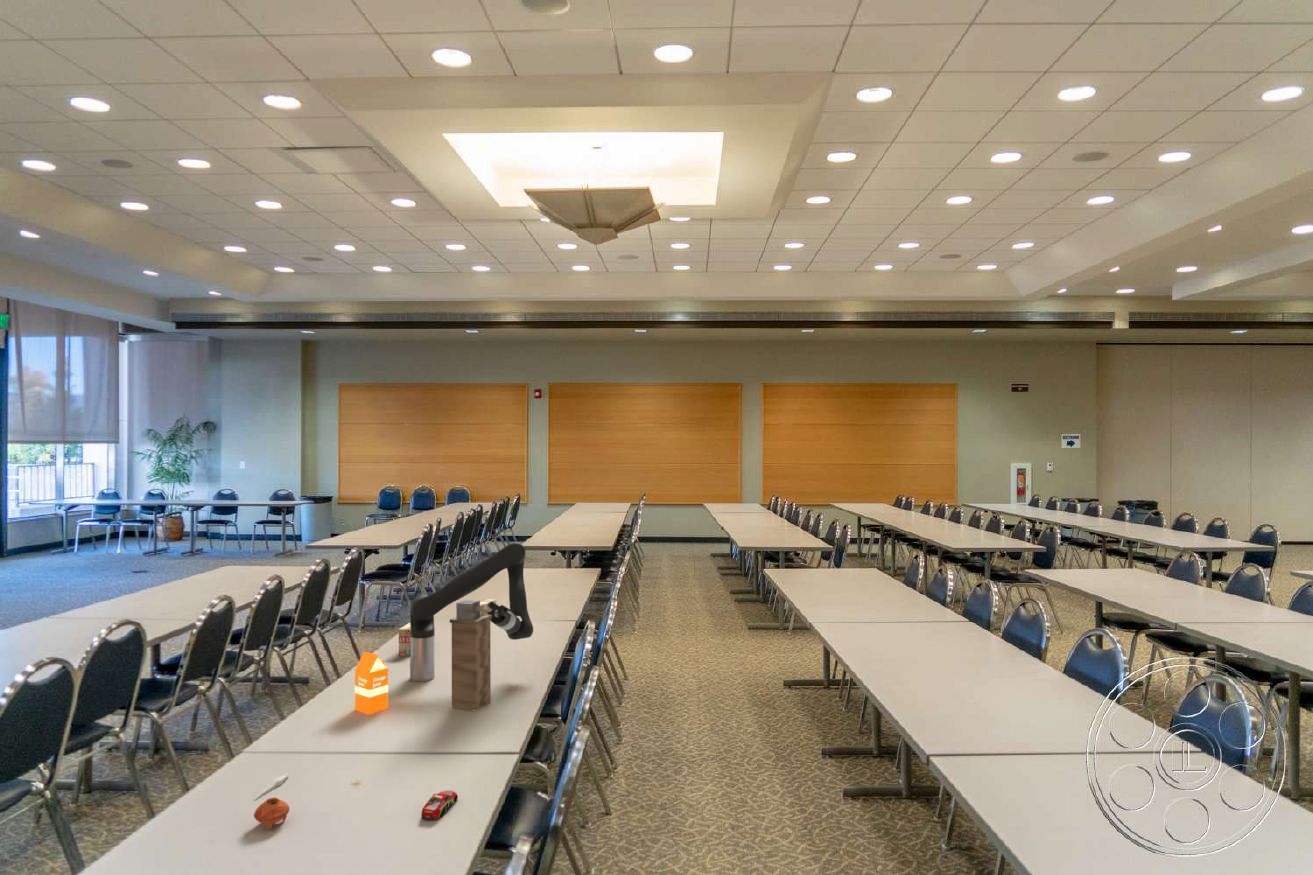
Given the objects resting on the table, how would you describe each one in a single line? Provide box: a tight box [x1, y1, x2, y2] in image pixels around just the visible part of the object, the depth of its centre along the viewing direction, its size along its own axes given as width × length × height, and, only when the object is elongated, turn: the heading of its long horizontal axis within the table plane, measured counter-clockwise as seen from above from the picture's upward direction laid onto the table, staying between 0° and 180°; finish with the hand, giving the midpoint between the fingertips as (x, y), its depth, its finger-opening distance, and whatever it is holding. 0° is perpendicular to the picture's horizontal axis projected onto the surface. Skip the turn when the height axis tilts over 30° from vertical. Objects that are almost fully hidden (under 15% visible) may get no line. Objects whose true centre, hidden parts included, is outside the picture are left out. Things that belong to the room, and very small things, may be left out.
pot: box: [253, 797, 290, 830], centre depth 191 cm, size 8×8×7 cm
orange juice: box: [354, 651, 389, 715], centre depth 273 cm, size 8×9×20 cm
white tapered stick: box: [254, 770, 291, 801], centre depth 211 cm, size 15×3×2 cm, turn 172°
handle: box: [455, 598, 497, 621], centre depth 282 cm, size 20×6×6 cm, turn 162°
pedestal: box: [449, 614, 492, 712], centre depth 277 cm, size 11×11×32 cm
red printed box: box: [398, 622, 411, 656], centre depth 352 cm, size 21×6×12 cm, turn 176°
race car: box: [420, 790, 459, 820], centre depth 199 cm, size 13×5×4 cm, turn 168°
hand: (483, 603), depth 286 cm, fingers open, 5 cm apart
